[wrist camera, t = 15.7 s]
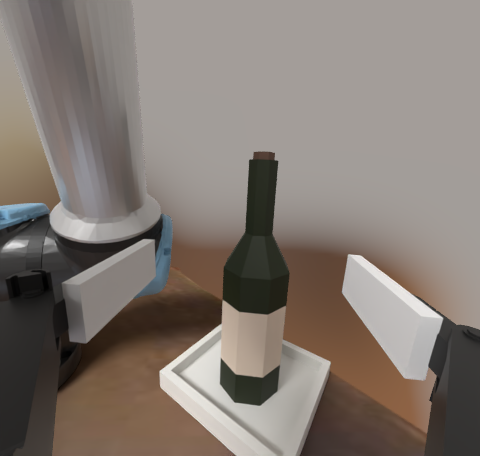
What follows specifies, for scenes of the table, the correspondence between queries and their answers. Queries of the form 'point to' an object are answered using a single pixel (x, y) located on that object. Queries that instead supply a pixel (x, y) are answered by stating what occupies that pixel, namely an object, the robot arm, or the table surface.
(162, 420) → the table surface
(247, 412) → the serving tray
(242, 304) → the wine bottle
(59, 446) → the table surface
